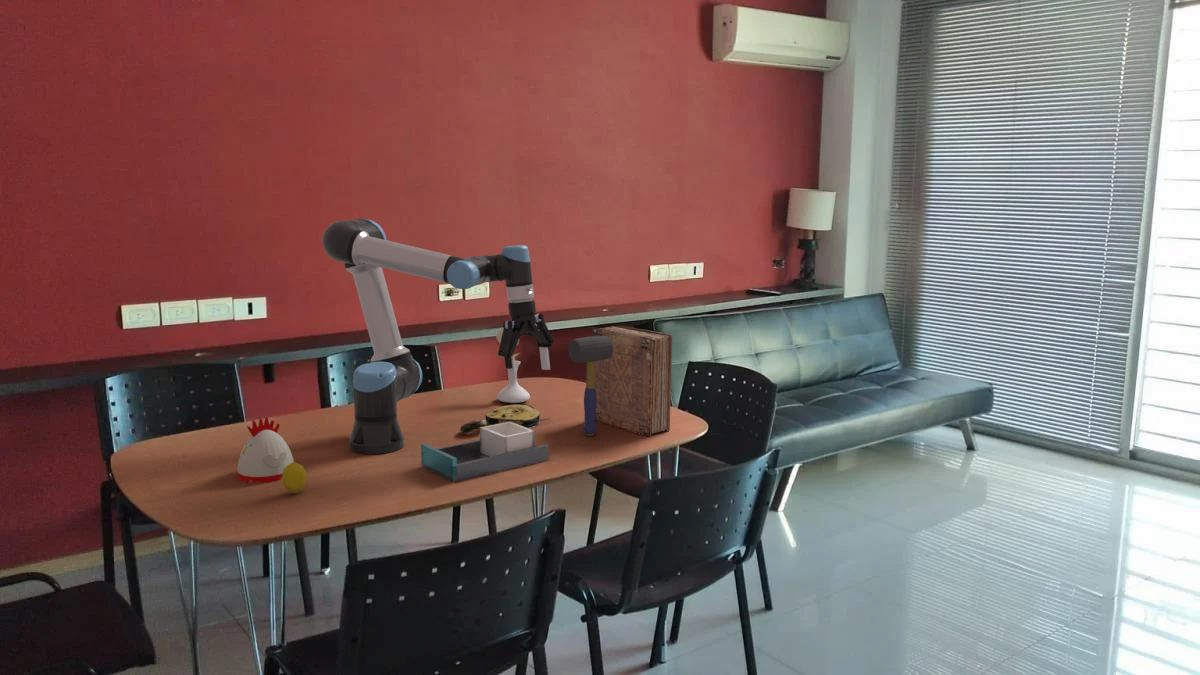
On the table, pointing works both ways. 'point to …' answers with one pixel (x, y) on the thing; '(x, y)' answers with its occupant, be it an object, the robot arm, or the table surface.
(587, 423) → the rubber mallet
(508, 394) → the flower in vase
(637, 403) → the book
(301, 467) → the lemon
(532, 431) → the crate
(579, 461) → the table surface
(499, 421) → the pulley block
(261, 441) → the kitchen timer
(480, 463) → the bay
